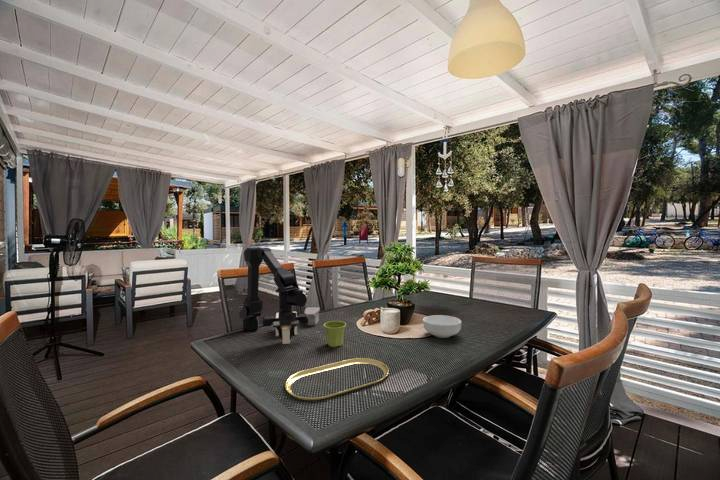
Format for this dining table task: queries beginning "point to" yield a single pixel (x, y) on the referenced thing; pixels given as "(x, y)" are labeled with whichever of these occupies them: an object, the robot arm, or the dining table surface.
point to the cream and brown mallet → (286, 334)
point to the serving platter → (332, 366)
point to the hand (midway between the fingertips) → (286, 339)
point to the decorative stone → (312, 315)
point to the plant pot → (334, 332)
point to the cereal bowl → (442, 325)
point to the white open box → (294, 328)
